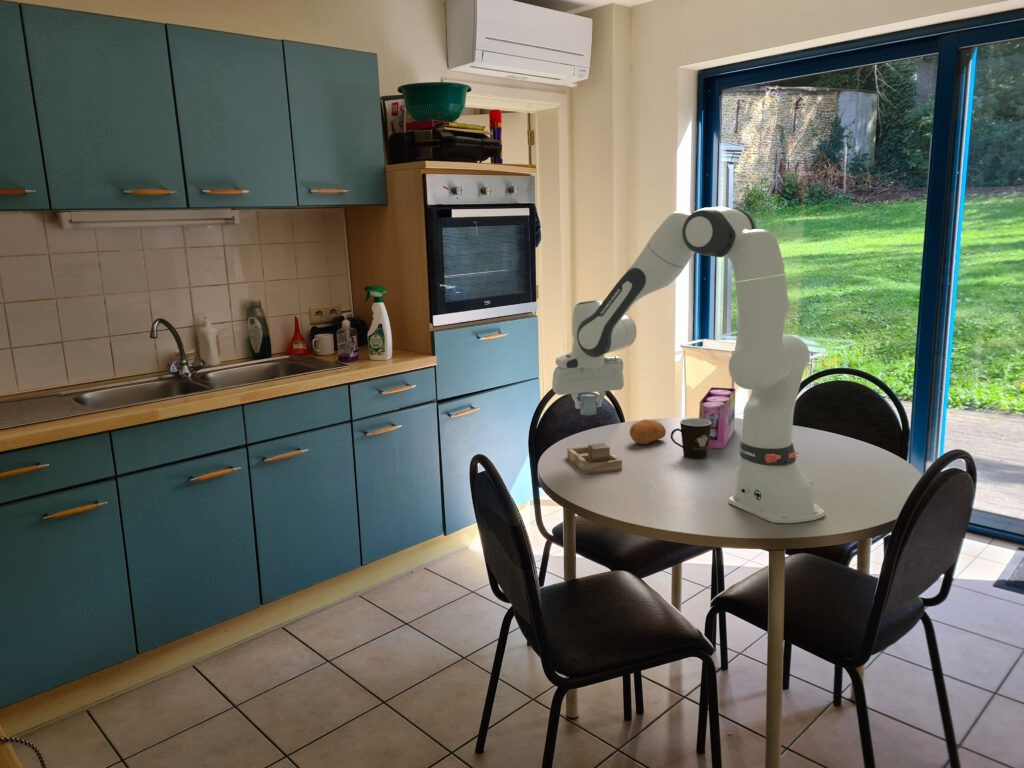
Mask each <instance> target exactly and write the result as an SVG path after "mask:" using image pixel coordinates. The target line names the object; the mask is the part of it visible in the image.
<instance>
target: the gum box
mask: <svg viewBox="0 0 1024 768" xmlns="http://www.w3.org/2000/svg"><path fill="white" fill-rule="evenodd" d="M735 417H736V388H733V387H731V388H730V387H728V388H727V387H715V386H714V387H710V388H709V390H708V391H707V393H705V395H704V396H703V397H702V399H701V400H700V401H699V410H698V419H705V420H709V421H711V430H710V437H709V444H708V448H711V449H712V448H713V449H725V446H726V445H727V444H728V442H729V440H730V439H731V437H732V435H733V434H734V432H735Z"/></svg>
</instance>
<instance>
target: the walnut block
mask: <svg viewBox="0 0 1024 768" xmlns="http://www.w3.org/2000/svg"><path fill="white" fill-rule="evenodd" d="M587 446H588V462H589V463H594V462H603V461H610V452H611V451H610V450H611V448H610V446H609V445H607V444H606V443H604V442H600V443H599V442H598V443H590V444H588V445H587Z"/></svg>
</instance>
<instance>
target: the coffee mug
mask: <svg viewBox="0 0 1024 768" xmlns="http://www.w3.org/2000/svg"><path fill="white" fill-rule="evenodd" d="M679 422H680V428H675V429H673V430H672V431H671V432H670V440H671V441H672V442H673V443H674V444H675V445H677V446H678V447H680V448H682V453H683V457H684V458H685V459H688V460H704V459H706V458H707V455H708V449H709V447H708V444H709V437H710V430H711V421H709V420H705V419H699V417H698V418H694V417H693V418H685V419H682V420H680V421H679ZM677 431H678V432H680V433H681V444H680V443H679V442H677V441H676V440H675V439H674V437H673V436H674V434H675V432H677Z"/></svg>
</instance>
